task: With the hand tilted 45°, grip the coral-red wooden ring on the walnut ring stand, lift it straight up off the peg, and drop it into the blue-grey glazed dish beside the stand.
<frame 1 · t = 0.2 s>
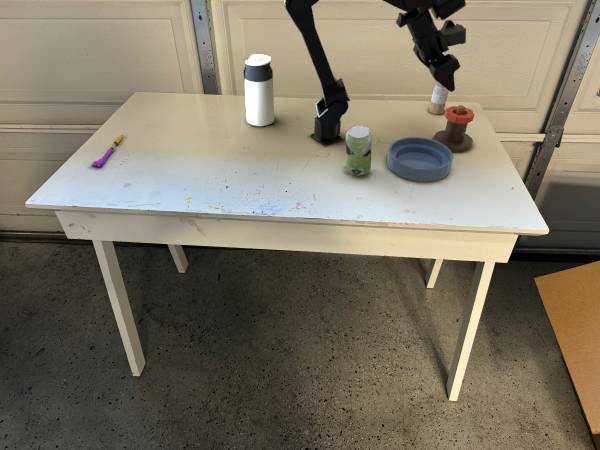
hand: (446, 83, 116), 15 cm above the table, tool tilted 35°, fingers open, 9 cm apart
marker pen: (108, 152, 117), on the table
ring stand: (452, 143, 121), on the table
dish: (417, 165, 113), on the table
ring: (458, 117, 116), point 8 cm above the table, touching ring stand
travel mug: (260, 121, 131), on the table
beverage can: (356, 173, 110), on the table
sprinkles bottle: (436, 112, 136), on the table
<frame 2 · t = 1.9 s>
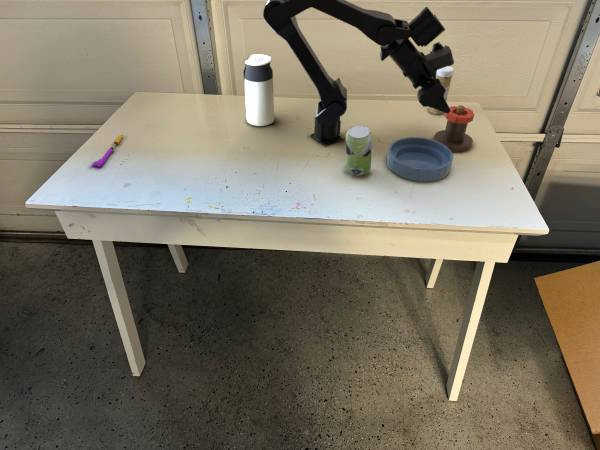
hand: (445, 104, 114), 11 cm above the table, tool tilted 45°, fingers open, 9 cm apart
nothing on the table moved.
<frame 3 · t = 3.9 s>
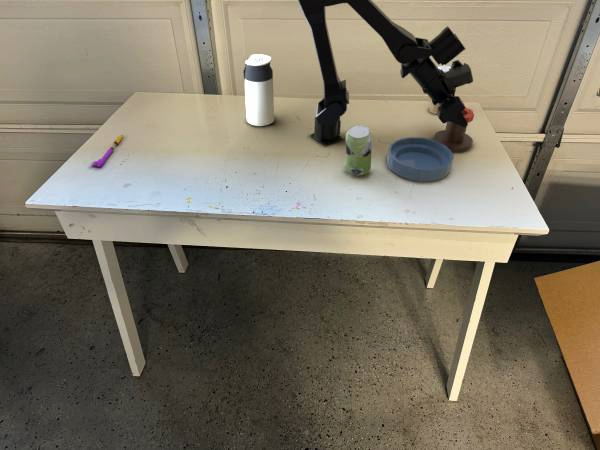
hand: (463, 119, 117), 7 cm above the table, tool tilted 45°, fingers closed on ring, 7 cm apart
ring: (458, 117, 116), point 8 cm above the table, touching gripper, ring stand
everything else where it was.
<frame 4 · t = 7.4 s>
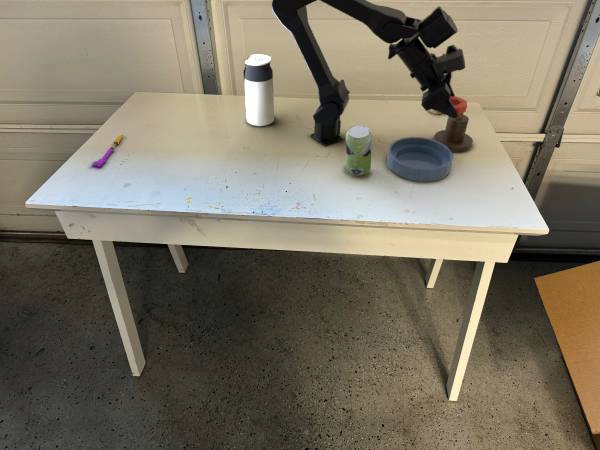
hand: (456, 110, 108), 12 cm above the table, tool tilted 45°, fingers closed on ring, 7 cm apart
ring: (450, 107, 108), point 13 cm above the table, touching gripper
everything else where it was.
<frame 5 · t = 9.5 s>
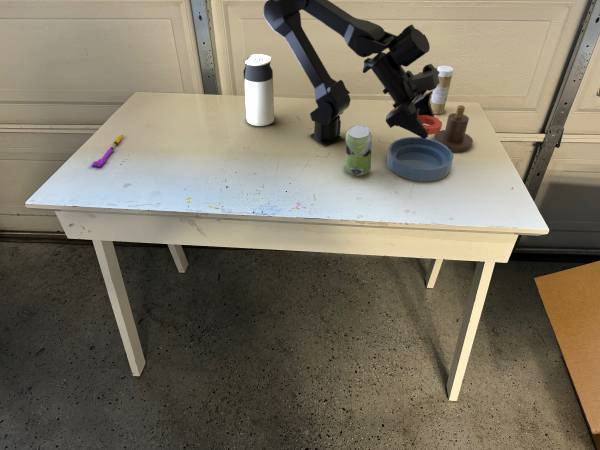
hand: (430, 131, 106), 10 cm above the table, tool tilted 45°, fingers closed on ring, 7 cm apart
ring: (425, 127, 106), point 10 cm above the table, touching gripper
everything else where it was.
when the fingers open (7 cm above the table, at t = 11.1 s): ring drops 7 cm, resting on dish.
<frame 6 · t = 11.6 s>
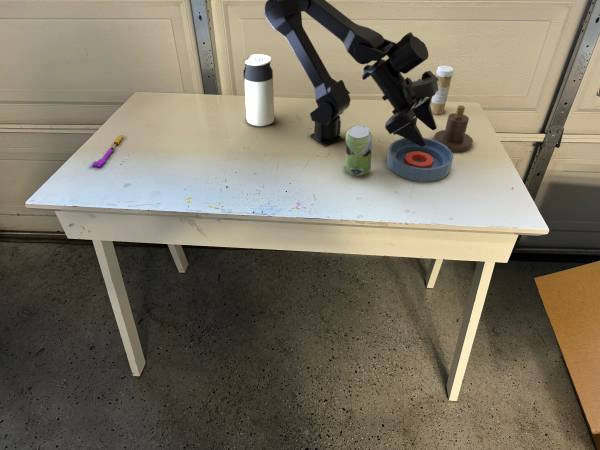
hand: (429, 137, 107), 8 cm above the table, tool tilted 45°, fingers open, 9 cm apart
ring: (418, 163, 112), resting on dish
everything else where it was.
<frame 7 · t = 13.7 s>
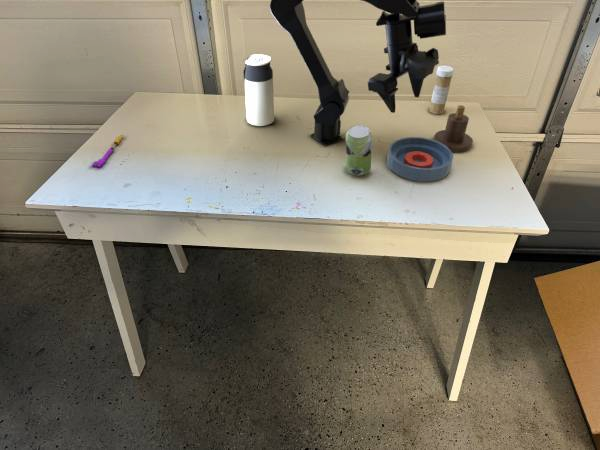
hand: (405, 104, 112), 12 cm above the table, tool pointing down, fingers open, 9 cm apart
nothing on the table moved.
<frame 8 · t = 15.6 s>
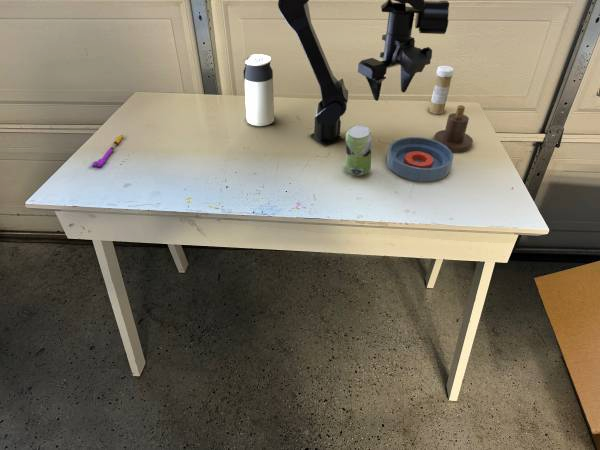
hand: (389, 96, 114), 13 cm above the table, tool pointing down, fingers open, 9 cm apart
nothing on the table moved.
at the end: ring touching dish; ring inside the target area in the dish (0.0 cm from its centre), point 0.5 cm above the dish's base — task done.
